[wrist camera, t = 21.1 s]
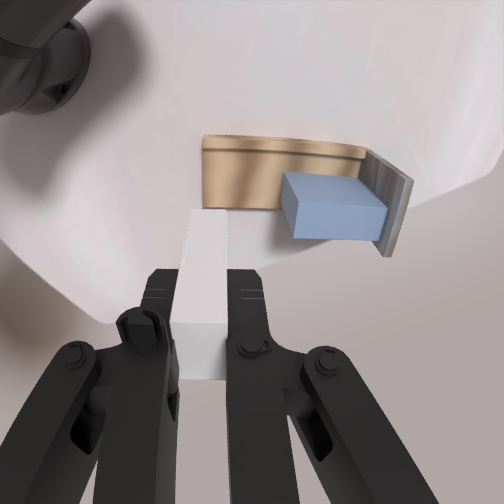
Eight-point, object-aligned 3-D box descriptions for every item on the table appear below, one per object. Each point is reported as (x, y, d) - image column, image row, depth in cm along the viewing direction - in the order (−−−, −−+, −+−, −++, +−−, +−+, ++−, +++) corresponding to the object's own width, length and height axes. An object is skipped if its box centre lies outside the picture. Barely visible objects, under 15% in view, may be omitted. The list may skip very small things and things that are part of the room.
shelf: (203, 202, 44) (195, 255, 32) (203, 135, 38) (192, 164, 27) (354, 208, 46) (391, 257, 35) (366, 147, 40) (414, 180, 29)
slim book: (280, 201, 43) (293, 238, 34) (283, 171, 40) (298, 201, 32) (351, 205, 44) (378, 241, 36) (357, 178, 41) (388, 208, 33)
